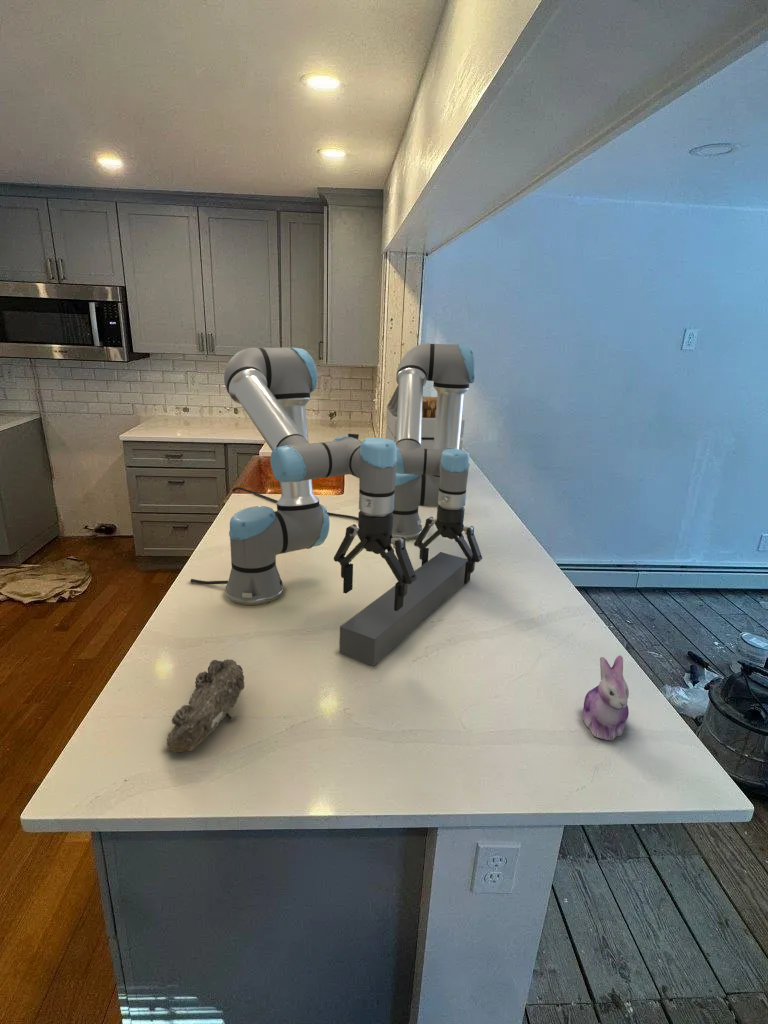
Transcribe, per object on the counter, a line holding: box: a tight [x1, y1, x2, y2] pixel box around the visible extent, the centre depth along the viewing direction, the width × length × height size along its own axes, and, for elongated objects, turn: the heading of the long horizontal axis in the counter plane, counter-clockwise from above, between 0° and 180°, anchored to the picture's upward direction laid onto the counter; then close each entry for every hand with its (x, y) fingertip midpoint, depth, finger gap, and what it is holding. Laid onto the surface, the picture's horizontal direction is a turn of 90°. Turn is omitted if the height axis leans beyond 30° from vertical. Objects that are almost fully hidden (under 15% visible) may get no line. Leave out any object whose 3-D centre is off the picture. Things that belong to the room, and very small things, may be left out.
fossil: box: [166, 658, 245, 754], centre depth 106 cm, size 22×10×15 cm
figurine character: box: [347, 433, 360, 440], centre depth 314 cm, size 7×8×15 cm
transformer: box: [384, 384, 465, 450], centre depth 268 cm, size 34×33×41 cm
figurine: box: [581, 654, 630, 741], centre depth 108 cm, size 9×10×15 cm
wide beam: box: [338, 551, 468, 667], centre depth 147 cm, size 52×9×7 cm, turn 149°
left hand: (372, 599), depth 128 cm, fingers open, 13 cm apart
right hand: (445, 576), depth 163 cm, fingers open, 13 cm apart
